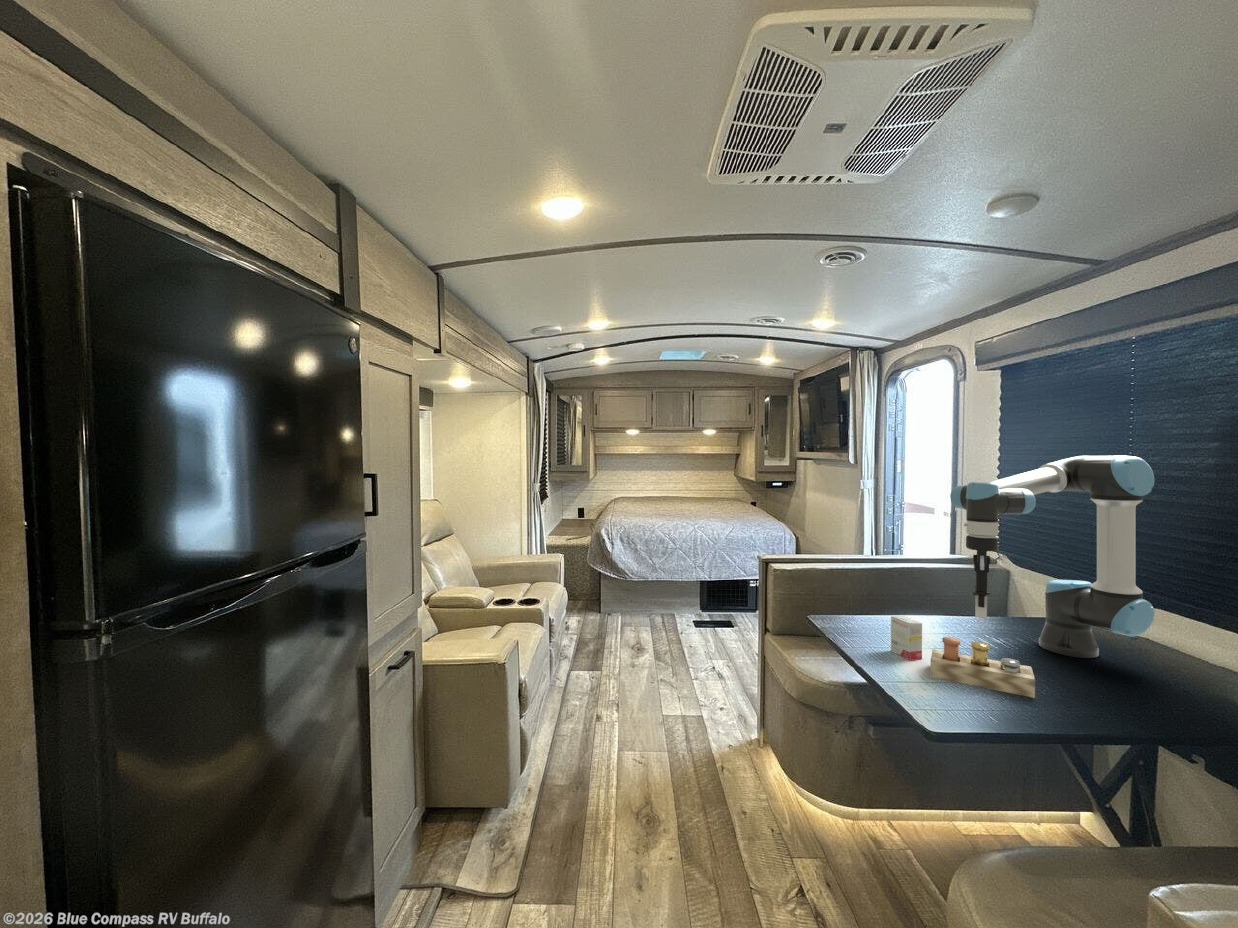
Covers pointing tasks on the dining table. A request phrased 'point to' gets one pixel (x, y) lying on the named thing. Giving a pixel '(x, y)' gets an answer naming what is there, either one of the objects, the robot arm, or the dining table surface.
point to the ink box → (906, 637)
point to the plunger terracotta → (951, 648)
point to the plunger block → (983, 674)
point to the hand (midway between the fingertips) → (981, 617)
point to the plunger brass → (980, 653)
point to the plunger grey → (1010, 665)
